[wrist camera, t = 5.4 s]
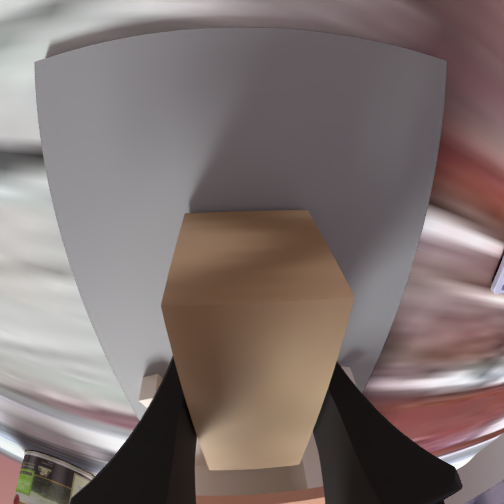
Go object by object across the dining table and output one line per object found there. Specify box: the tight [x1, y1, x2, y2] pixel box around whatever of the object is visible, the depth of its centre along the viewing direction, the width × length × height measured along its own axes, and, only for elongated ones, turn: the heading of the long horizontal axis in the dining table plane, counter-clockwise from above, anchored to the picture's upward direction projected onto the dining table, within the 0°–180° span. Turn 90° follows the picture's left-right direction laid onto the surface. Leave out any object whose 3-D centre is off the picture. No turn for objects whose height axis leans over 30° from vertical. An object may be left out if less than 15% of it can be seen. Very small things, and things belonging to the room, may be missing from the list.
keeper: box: [35, 27, 447, 504], centre depth 12 cm, size 14×27×7 cm, turn 0°
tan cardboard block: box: [161, 210, 354, 470], centre depth 11 cm, size 4×10×4 cm, turn 179°
